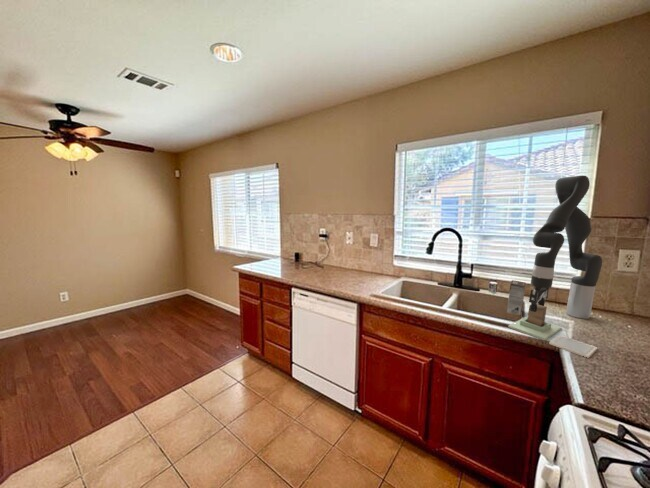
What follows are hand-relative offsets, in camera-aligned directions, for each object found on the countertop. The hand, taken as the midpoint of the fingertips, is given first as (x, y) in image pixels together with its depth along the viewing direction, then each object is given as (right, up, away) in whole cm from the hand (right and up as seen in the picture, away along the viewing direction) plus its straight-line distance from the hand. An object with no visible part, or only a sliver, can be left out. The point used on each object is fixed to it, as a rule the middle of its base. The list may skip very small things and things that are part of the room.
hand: (536, 309), depth 123 cm
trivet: (+3, -12, -14) cm, 19 cm away
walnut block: (0, -8, +1) cm, 8 cm away
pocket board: (0, -9, +1) cm, 9 cm away
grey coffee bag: (+4, -6, +21) cm, 22 cm away
